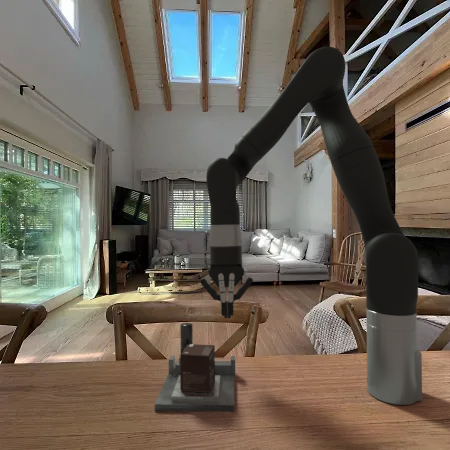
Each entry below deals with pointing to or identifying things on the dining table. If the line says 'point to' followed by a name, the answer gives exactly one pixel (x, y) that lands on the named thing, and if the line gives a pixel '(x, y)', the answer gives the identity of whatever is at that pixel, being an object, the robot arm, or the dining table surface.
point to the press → (198, 401)
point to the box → (197, 368)
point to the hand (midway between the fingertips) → (227, 317)
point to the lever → (186, 335)
